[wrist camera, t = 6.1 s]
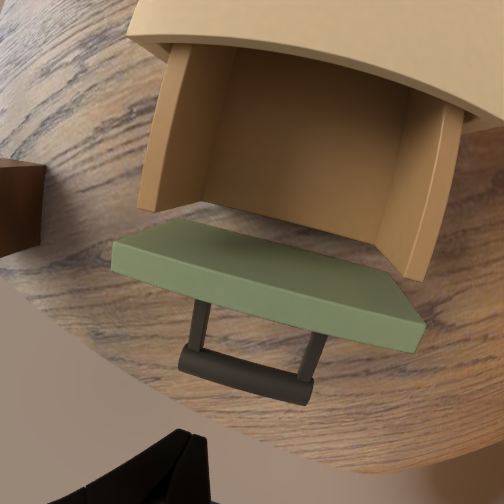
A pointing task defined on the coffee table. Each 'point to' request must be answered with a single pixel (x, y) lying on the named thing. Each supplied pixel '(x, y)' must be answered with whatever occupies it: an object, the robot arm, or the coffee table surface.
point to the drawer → (291, 200)
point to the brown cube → (20, 205)
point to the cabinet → (355, 40)
